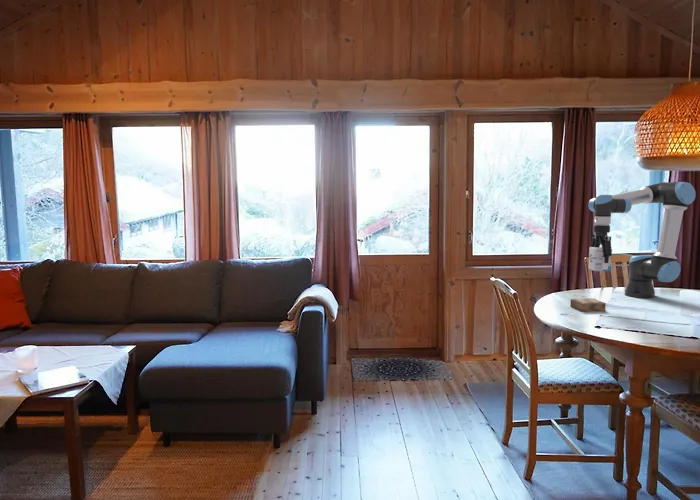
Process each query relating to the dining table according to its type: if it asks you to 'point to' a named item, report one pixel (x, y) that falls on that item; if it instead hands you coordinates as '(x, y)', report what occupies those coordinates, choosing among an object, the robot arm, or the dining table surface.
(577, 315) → the dining table surface
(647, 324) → the dining table surface
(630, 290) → the robot arm
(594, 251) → the ink box
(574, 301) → the walnut frame
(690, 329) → the dining table surface
